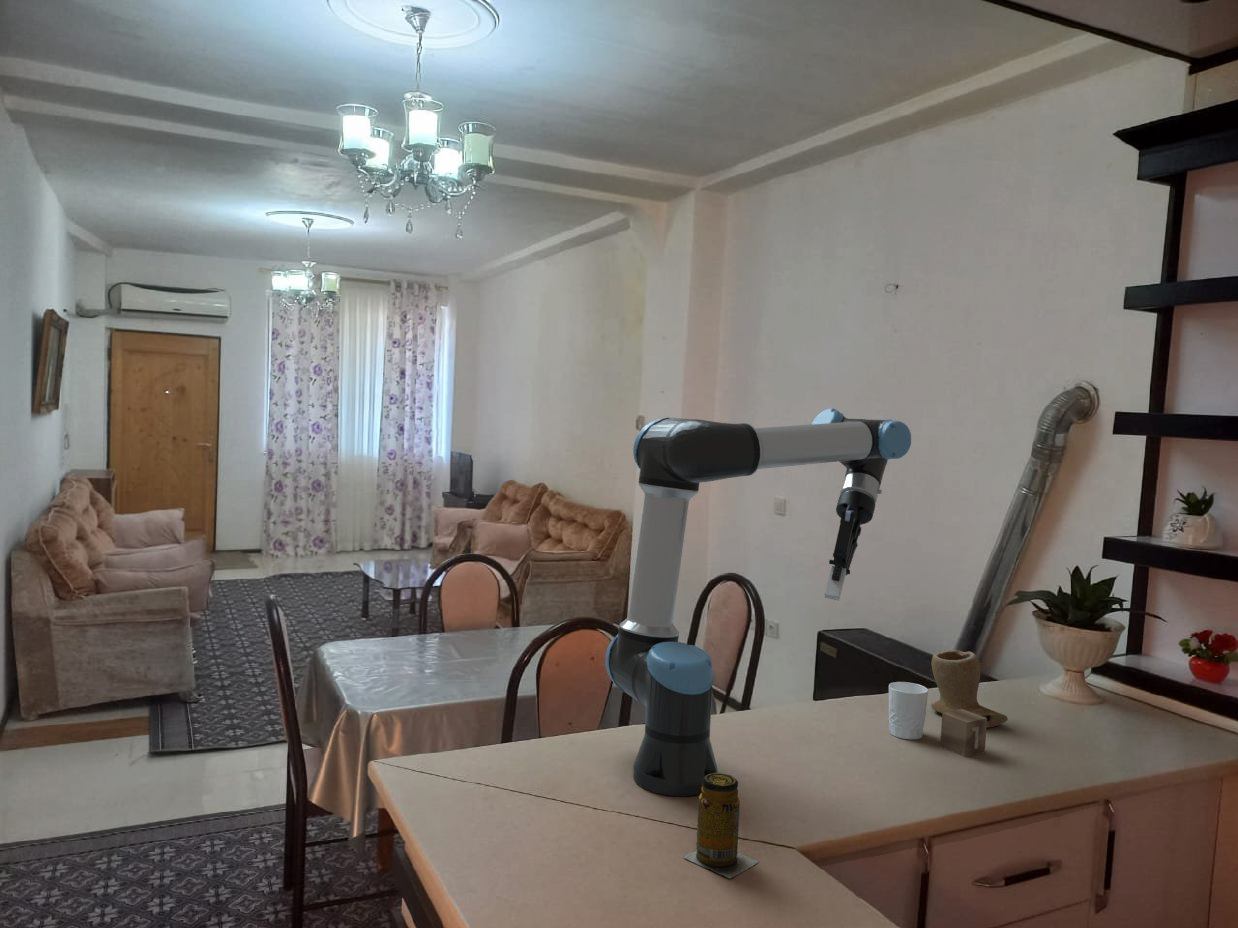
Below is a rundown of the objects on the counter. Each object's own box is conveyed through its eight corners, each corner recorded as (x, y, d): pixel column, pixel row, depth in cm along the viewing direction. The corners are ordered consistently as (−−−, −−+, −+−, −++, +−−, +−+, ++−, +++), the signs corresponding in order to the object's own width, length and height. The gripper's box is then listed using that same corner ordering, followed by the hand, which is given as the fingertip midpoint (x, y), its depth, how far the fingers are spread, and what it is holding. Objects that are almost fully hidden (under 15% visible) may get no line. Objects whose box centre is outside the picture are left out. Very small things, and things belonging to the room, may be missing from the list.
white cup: (885, 737, 185) (888, 690, 184) (886, 725, 192) (889, 679, 192) (925, 743, 182) (928, 695, 182) (925, 730, 190) (927, 684, 189)
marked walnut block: (965, 757, 176) (968, 722, 175) (940, 746, 181) (942, 712, 181) (985, 752, 179) (988, 718, 178) (960, 742, 184) (962, 708, 184)
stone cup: (916, 711, 203) (920, 646, 202) (955, 705, 208) (959, 642, 207) (968, 734, 189) (972, 664, 188) (1008, 727, 194) (1013, 660, 193)
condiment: (712, 842, 137) (716, 765, 136) (758, 862, 131) (762, 783, 130) (682, 858, 131) (686, 778, 130) (729, 880, 125) (733, 797, 125)
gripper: (875, 484, 179) (849, 584, 167) (876, 520, 189) (852, 616, 177) (837, 478, 182) (810, 576, 170) (841, 514, 192) (815, 609, 180)
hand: (831, 597), depth 174 cm, fingers closed
